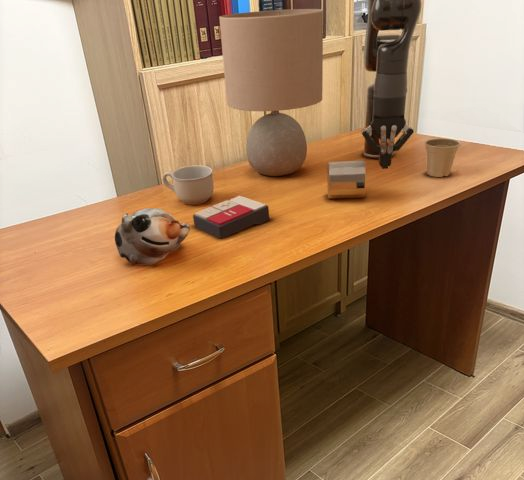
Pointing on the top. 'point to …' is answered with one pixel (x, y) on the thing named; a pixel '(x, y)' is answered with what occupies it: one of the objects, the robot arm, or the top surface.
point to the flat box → (231, 216)
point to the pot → (346, 179)
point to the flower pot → (440, 156)
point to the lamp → (273, 80)
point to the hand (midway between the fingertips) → (384, 167)
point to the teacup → (191, 183)
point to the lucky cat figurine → (149, 236)
